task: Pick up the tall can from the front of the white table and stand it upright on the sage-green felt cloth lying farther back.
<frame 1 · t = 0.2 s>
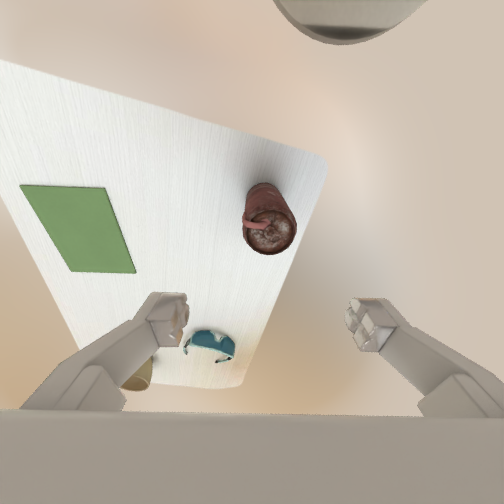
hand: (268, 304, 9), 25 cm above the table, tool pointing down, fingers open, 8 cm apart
can: (262, 199, 31), on the table
sunglasses: (210, 344, 54), on the table
felt cloth: (86, 234, 35), on the table
flower pot: (144, 357, 57), on the table
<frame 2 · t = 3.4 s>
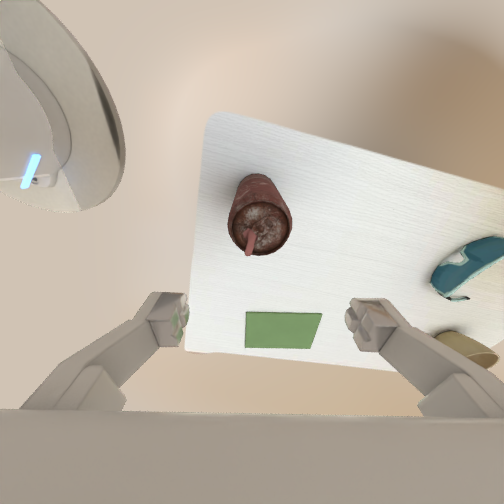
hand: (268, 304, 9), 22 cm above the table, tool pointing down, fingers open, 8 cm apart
can: (256, 194, 28), on the table
sunglasses: (470, 268, 36), on the table
felt cloth: (280, 331, 46), on the table
flower pot: (444, 335, 47), on the table
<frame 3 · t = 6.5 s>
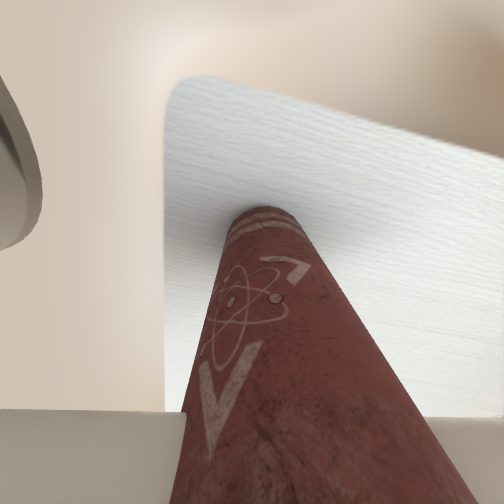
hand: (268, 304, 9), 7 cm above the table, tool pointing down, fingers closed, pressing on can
can: (263, 241, 15), on the table, touching gripper
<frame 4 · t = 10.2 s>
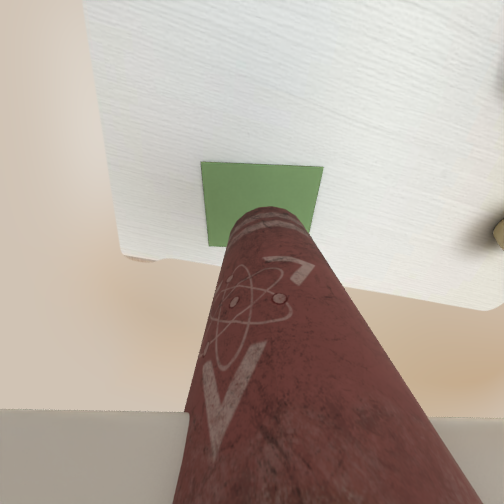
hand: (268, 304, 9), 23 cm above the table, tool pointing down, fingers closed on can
can: (266, 241, 15), point 16 cm above the table, touching gripper
felt cloth: (259, 210, 30), on the table
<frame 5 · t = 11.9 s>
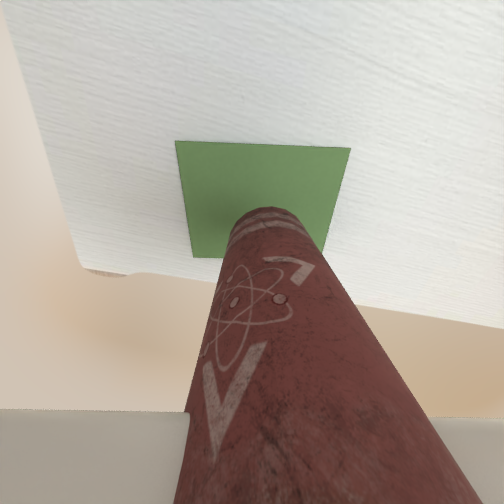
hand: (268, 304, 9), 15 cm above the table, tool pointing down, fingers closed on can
can: (266, 241, 15), point 8 cm above the table, touching gripper
felt cloth: (259, 210, 22), on the table
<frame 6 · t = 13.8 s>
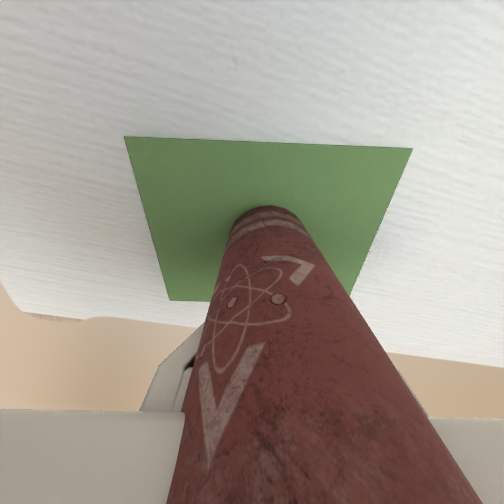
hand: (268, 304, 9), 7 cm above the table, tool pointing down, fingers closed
can: (265, 240, 15), resting on felt cloth
felt cloth: (262, 240, 15), on the table
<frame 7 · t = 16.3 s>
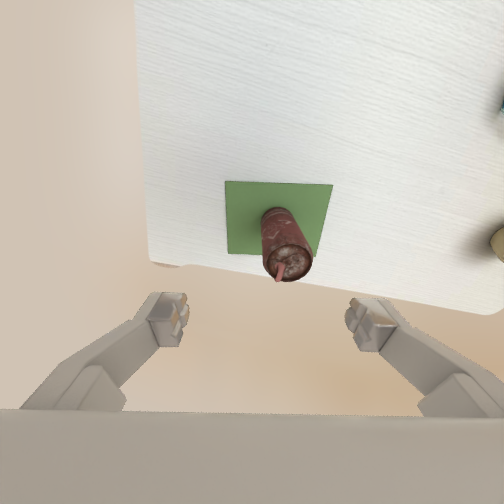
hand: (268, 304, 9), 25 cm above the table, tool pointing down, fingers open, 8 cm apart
can: (276, 222, 33), resting on felt cloth
felt cloth: (274, 222, 33), on the table
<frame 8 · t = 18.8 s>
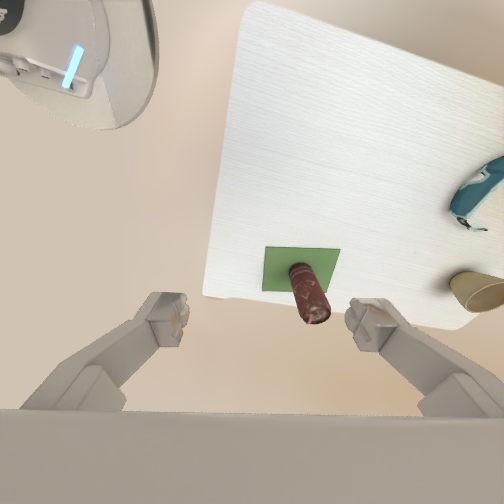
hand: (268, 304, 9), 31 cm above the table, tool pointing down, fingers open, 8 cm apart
can: (299, 271, 46), resting on felt cloth
sunglasses: (489, 194, 36), on the table
felt cloth: (298, 271, 47), on the table
flower pot: (459, 278, 48), on the table
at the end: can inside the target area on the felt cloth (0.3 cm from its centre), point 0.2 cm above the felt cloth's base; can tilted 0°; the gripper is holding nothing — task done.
